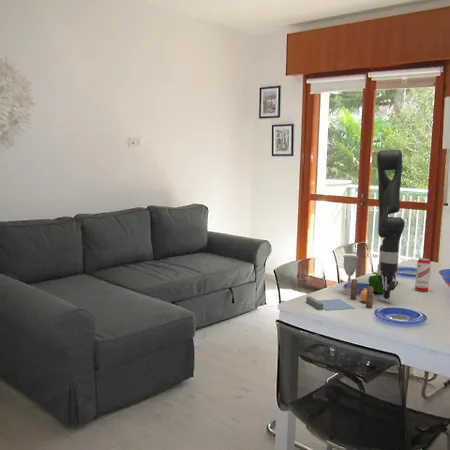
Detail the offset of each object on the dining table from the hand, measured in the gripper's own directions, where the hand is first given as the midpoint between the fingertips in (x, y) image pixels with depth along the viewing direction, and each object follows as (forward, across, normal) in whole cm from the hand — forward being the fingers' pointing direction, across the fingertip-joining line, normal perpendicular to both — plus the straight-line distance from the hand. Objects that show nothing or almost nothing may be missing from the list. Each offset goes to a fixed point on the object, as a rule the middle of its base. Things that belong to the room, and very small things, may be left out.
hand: (386, 298), depth 227 cm
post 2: (+2, +6, -13) cm, 15 cm away
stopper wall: (+2, 0, -36) cm, 36 cm away
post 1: (+2, -7, -13) cm, 15 cm away
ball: (-2, -1, -10) cm, 10 cm away
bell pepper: (+2, -15, +5) cm, 16 cm away
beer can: (+2, -14, +30) cm, 33 cm away
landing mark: (+2, 0, -27) cm, 27 cm away
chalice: (+2, -16, -10) cm, 19 cm away
